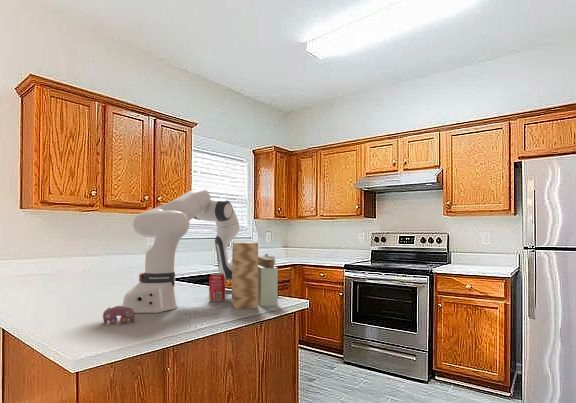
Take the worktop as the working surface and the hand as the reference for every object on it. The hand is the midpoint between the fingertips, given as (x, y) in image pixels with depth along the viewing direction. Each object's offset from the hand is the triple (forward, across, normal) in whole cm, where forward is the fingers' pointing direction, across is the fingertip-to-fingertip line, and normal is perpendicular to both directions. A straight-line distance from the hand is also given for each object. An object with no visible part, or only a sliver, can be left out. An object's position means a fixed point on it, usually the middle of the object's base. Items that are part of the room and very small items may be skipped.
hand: (257, 255), depth 193 cm
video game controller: (+31, -55, +40) cm, 75 cm away
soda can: (+1, -20, +23) cm, 31 cm away
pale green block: (+9, 0, +27) cm, 29 cm away
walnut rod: (+14, 0, +12) cm, 19 cm away
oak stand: (+13, -10, +30) cm, 34 cm away
